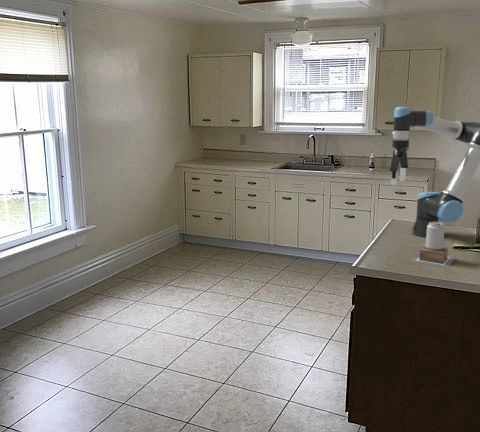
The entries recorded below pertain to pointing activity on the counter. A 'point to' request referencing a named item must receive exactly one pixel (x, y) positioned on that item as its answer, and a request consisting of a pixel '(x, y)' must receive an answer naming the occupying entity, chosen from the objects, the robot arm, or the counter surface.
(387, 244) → the counter surface
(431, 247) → the can
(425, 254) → the walnut block
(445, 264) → the grey flat plate
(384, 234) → the counter surface
